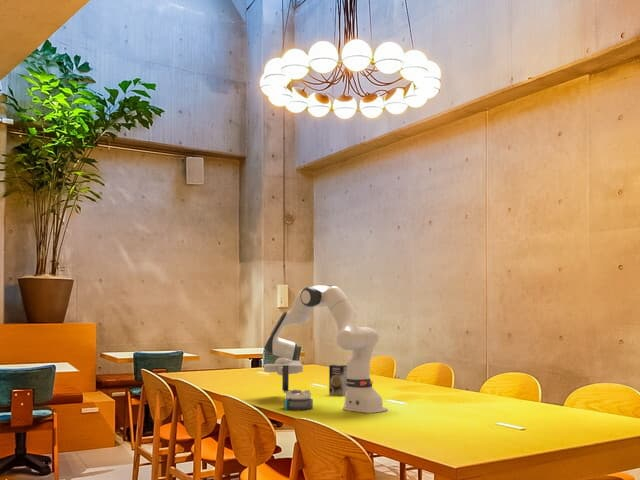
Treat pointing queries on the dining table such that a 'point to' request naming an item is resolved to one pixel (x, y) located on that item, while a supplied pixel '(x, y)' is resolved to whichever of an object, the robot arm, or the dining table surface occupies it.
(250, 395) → the dining table surface
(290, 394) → the disc with upright handle
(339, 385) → the coffee box
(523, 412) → the dining table surface
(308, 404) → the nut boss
